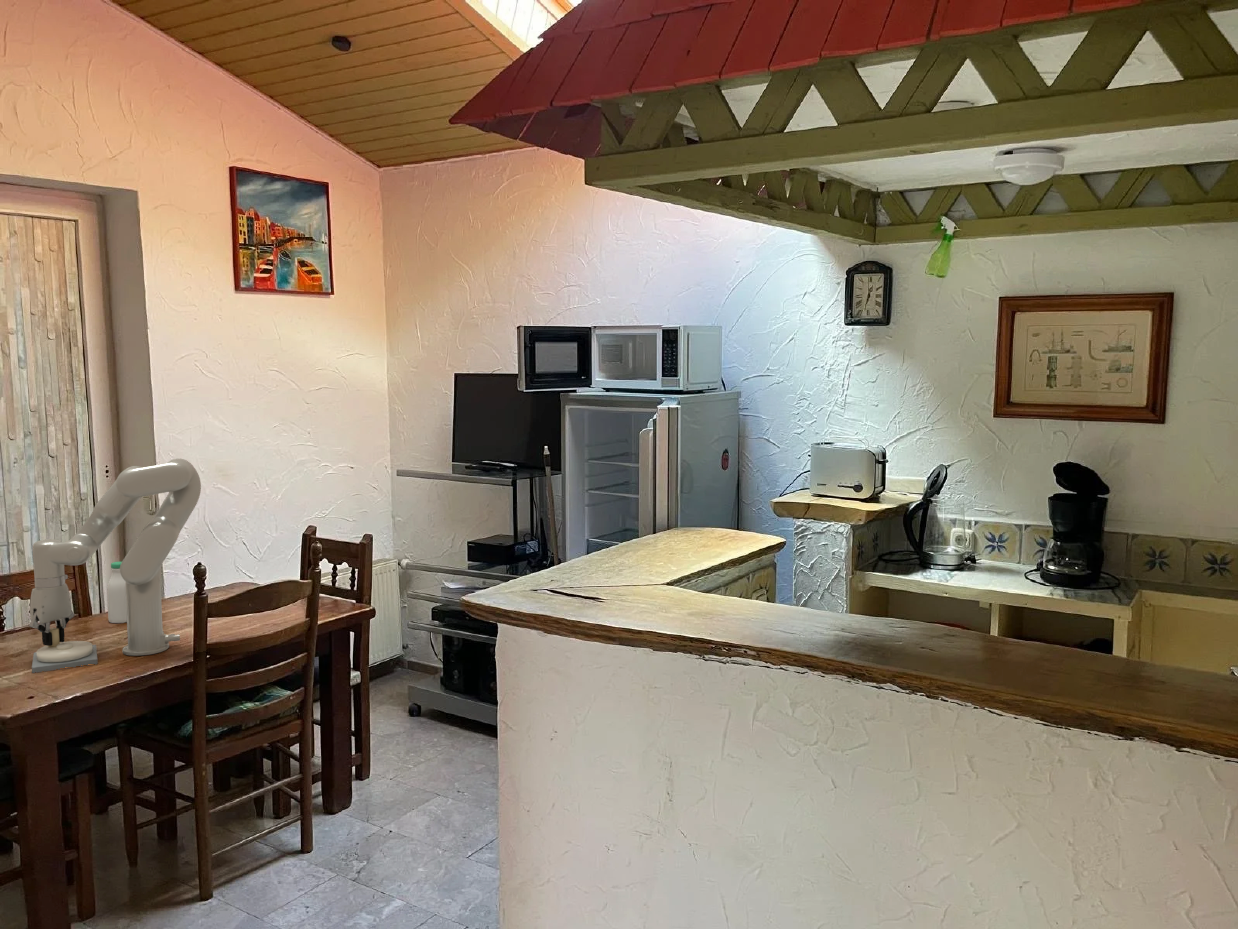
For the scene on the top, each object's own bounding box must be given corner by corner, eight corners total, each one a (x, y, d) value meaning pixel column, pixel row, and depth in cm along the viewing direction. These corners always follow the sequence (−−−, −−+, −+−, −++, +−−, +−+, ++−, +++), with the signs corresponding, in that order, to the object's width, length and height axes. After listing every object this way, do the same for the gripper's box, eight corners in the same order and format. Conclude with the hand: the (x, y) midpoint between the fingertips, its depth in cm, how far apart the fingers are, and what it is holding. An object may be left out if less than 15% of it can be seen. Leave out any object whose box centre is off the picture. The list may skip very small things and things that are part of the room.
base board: (96, 649, 279) (96, 644, 279) (97, 664, 265) (97, 659, 265) (34, 657, 271) (33, 652, 271) (32, 673, 257) (31, 667, 257)
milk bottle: (120, 624, 306) (117, 565, 303) (103, 622, 308) (100, 564, 306) (139, 618, 313) (136, 561, 311) (122, 616, 315) (119, 559, 313)
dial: (90, 644, 278) (89, 622, 277) (94, 657, 266) (93, 633, 265) (35, 652, 270) (34, 629, 269) (37, 665, 258) (36, 641, 257)
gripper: (67, 575, 277) (70, 634, 279) (13, 587, 262) (17, 649, 264) (84, 577, 274) (88, 637, 276) (31, 589, 259) (35, 653, 261)
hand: (53, 642), depth 270 cm, fingers closed on dial, 3 cm apart
